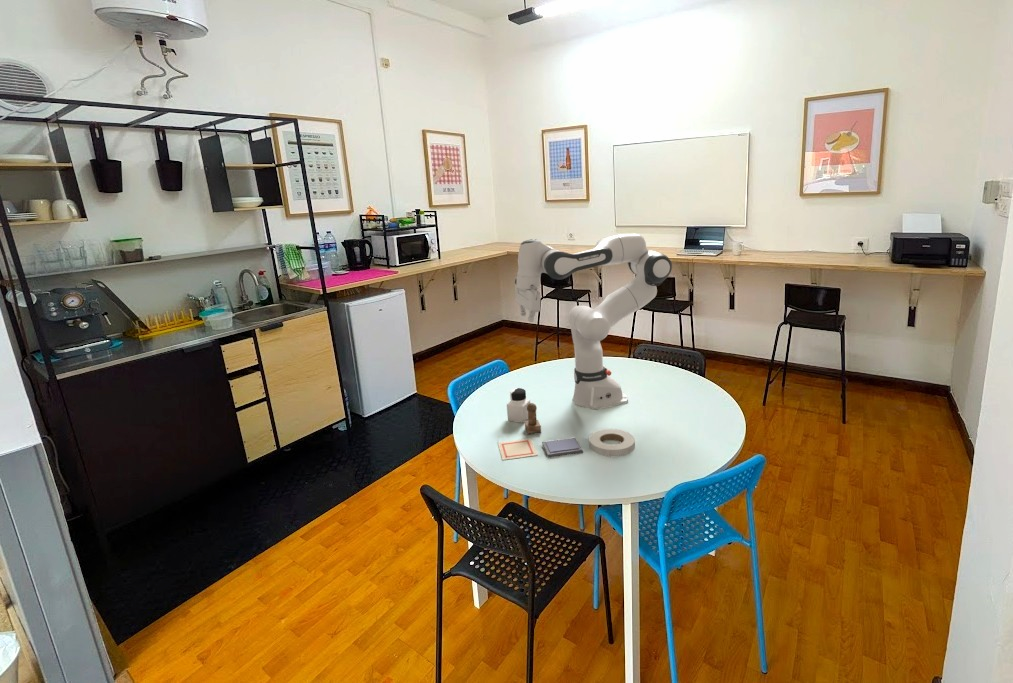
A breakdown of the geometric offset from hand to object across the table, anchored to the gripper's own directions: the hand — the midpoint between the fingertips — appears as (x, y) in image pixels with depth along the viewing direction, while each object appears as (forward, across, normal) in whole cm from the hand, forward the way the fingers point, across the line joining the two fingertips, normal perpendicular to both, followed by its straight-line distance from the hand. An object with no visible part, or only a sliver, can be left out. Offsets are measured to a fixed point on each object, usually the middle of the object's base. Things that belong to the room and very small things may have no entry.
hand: (526, 318), depth 197 cm
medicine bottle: (+39, -7, +3) cm, 39 cm away
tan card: (+39, -30, +11) cm, 50 cm away
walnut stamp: (+38, -19, +2) cm, 43 cm away
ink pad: (+38, -36, -3) cm, 52 cm away
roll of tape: (+36, -40, -20) cm, 57 cm away
